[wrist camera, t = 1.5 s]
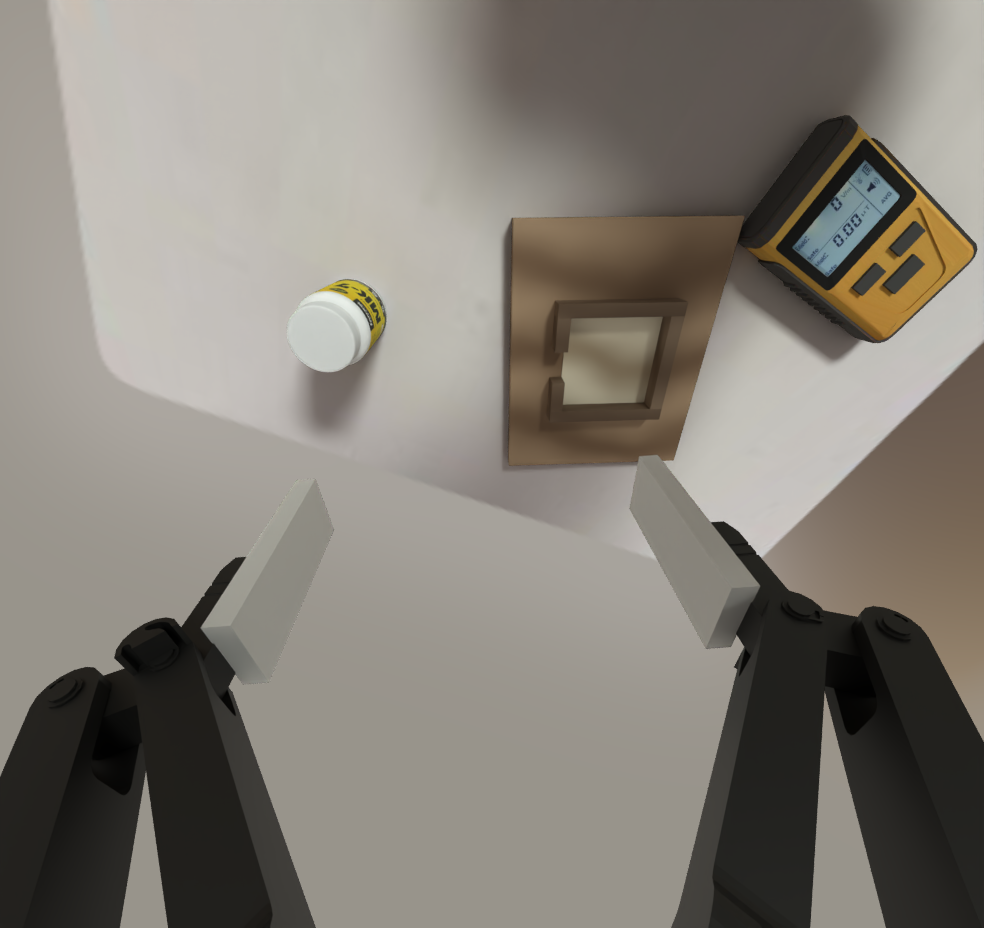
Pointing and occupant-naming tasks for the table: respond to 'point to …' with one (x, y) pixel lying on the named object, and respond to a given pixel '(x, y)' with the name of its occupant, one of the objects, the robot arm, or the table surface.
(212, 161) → the table surface
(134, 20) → the table surface
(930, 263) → the electronic device
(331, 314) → the supplement bottle
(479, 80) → the table surface
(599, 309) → the board
